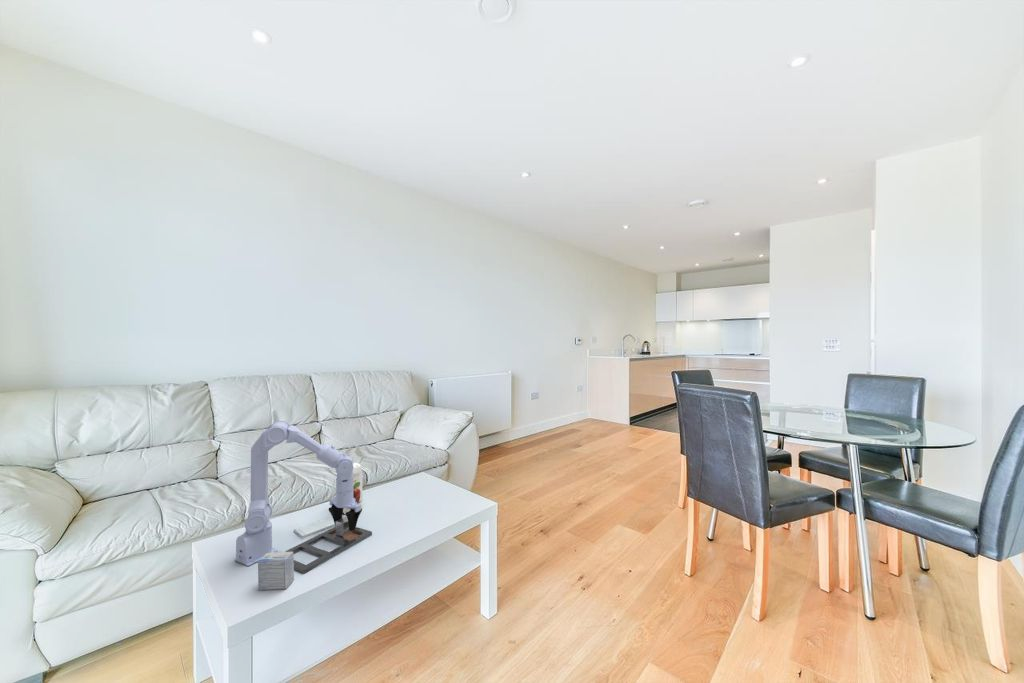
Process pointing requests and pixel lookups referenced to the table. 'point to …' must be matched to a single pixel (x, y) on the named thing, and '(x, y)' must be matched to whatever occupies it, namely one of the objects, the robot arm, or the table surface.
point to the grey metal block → (343, 528)
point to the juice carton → (356, 485)
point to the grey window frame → (324, 555)
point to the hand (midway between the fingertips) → (345, 527)
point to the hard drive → (314, 528)
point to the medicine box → (275, 571)
